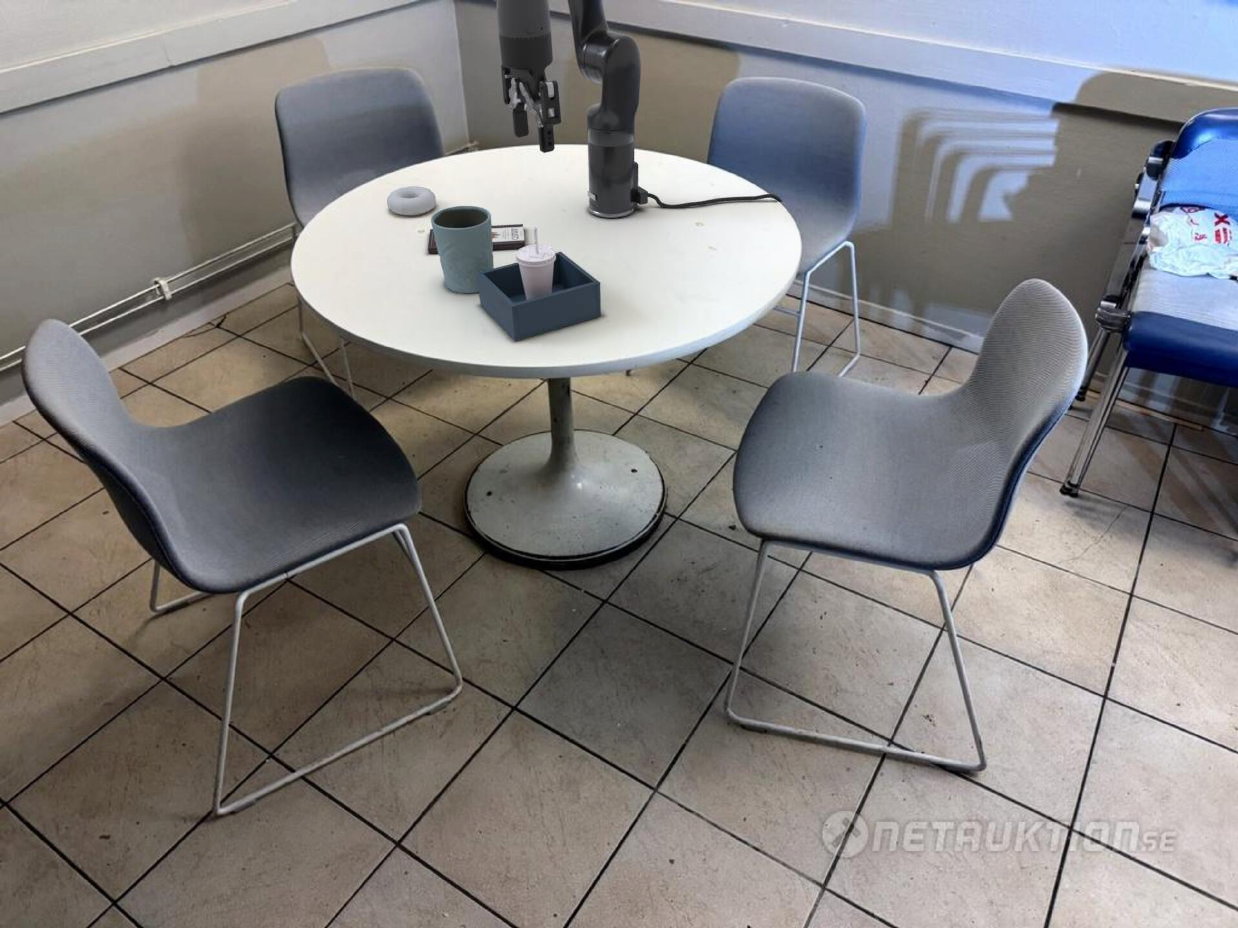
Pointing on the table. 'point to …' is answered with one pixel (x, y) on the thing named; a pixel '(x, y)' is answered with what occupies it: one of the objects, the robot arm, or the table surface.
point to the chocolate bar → (494, 238)
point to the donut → (411, 200)
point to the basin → (539, 299)
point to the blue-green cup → (463, 245)
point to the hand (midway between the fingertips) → (534, 143)
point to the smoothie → (536, 268)
